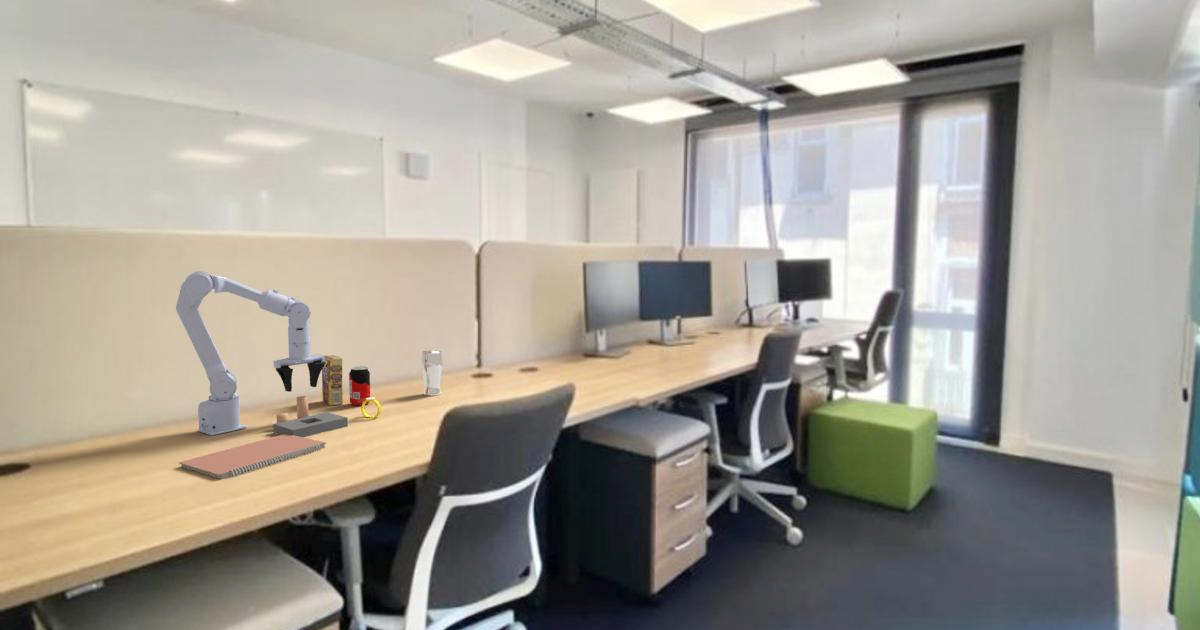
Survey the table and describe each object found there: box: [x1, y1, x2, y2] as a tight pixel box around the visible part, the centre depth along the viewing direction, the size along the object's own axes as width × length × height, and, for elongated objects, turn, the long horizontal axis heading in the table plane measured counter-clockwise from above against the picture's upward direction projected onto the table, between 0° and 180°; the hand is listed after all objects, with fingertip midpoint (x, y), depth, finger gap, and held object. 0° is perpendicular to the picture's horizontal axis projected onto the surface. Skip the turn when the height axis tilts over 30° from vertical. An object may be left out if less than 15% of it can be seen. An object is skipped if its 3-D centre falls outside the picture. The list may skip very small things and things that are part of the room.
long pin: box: [296, 395, 310, 419], centre depth 187 cm, size 3×3×7 cm
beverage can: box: [348, 366, 371, 406], centre depth 207 cm, size 6×6×12 cm
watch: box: [360, 396, 382, 419], centre depth 191 cm, size 6×3×6 cm, turn 76°
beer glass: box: [421, 349, 443, 397], centre depth 222 cm, size 7×7×15 cm
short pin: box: [276, 412, 290, 423], centre depth 178 cm, size 3×3×4 cm
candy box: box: [321, 354, 344, 406], centre depth 209 cm, size 9×4×15 cm, turn 39°
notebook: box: [178, 434, 327, 480], centre depth 154 cm, size 27×17×2 cm, turn 151°
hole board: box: [272, 411, 349, 438], centre depth 178 cm, size 16×10×2 cm, turn 145°
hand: (301, 388), depth 186 cm, fingers open, 7 cm apart
